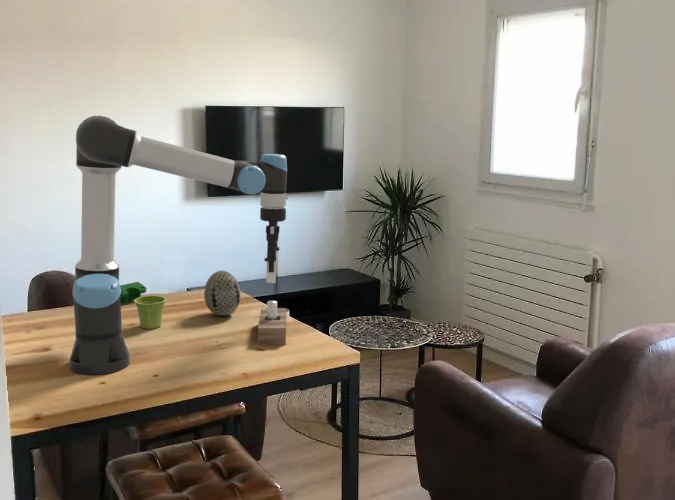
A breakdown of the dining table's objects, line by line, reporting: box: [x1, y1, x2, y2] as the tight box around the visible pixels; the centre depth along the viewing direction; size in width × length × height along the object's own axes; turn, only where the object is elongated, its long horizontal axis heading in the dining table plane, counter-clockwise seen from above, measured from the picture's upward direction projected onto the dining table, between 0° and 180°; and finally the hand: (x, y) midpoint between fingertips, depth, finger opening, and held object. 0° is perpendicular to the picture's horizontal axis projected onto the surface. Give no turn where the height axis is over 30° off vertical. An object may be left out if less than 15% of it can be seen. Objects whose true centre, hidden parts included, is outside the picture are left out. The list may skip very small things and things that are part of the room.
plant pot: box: [133, 295, 167, 330], centre depth 225 cm, size 9×9×9 cm
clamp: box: [120, 281, 147, 306], centre depth 251 cm, size 12×6×9 cm, turn 133°
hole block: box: [257, 307, 287, 346], centre depth 221 cm, size 20×8×5 cm, turn 3°
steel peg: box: [266, 300, 278, 320], centre depth 220 cm, size 3×3×10 cm
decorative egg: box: [203, 270, 241, 317], centre depth 237 cm, size 12×12×15 cm
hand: (271, 277), depth 217 cm, fingers open, 13 cm apart
